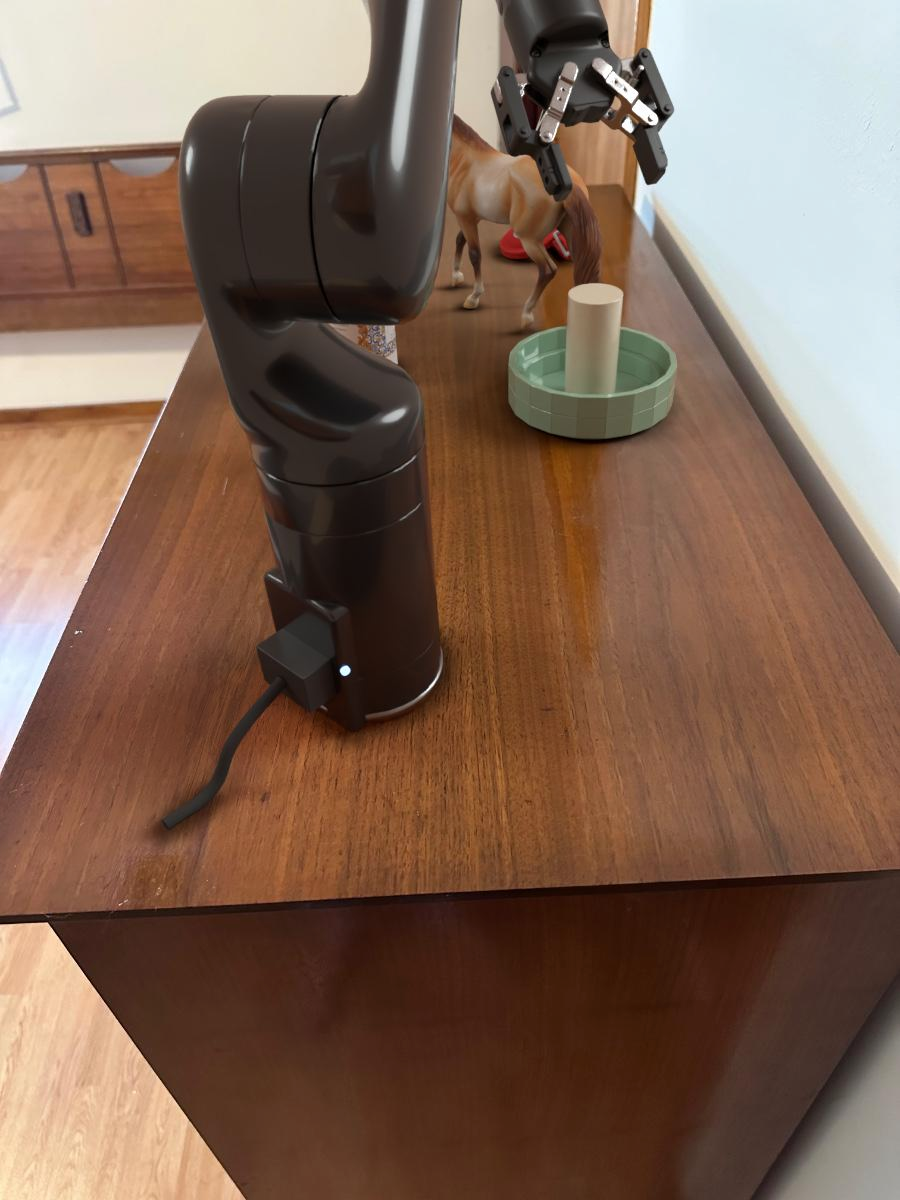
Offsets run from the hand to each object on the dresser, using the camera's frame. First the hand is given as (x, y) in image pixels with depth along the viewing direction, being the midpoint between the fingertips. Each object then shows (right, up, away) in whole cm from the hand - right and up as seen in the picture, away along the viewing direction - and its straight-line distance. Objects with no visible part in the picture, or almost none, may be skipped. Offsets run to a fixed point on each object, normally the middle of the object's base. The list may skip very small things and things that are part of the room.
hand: (611, 187), depth 71 cm
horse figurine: (-8, -2, +28) cm, 30 cm away
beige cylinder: (0, -14, +13) cm, 19 cm away
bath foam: (-22, -10, +21) cm, 32 cm away
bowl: (0, -14, +14) cm, 20 cm away
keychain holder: (0, +14, +44) cm, 46 cm away
